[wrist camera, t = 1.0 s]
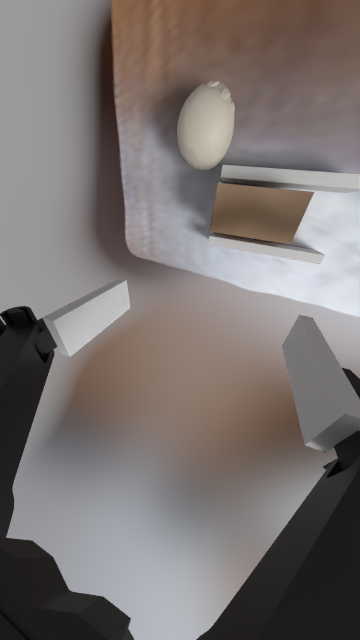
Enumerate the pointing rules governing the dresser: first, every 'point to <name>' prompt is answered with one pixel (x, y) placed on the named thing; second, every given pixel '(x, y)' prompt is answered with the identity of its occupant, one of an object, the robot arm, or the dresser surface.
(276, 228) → the panel
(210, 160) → the cream piece
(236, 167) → the rack
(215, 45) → the dresser surface
